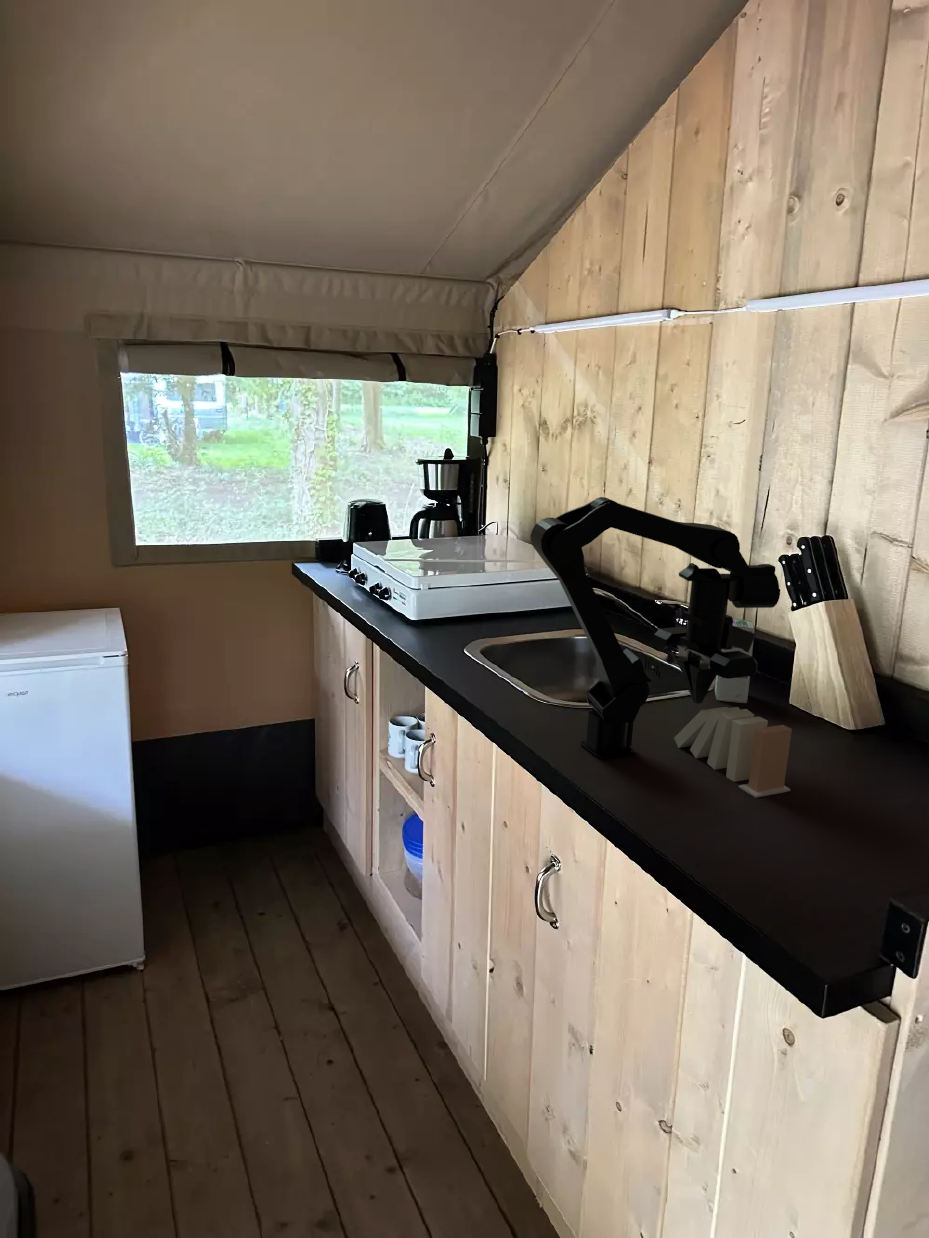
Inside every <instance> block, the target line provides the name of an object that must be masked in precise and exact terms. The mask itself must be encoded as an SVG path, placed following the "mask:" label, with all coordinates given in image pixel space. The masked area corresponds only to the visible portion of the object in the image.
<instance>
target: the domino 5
mask: <svg viewBox="0 0 929 1238" xmlns="http://www.w3.org/2000/svg"><path fill="white" fill-rule="evenodd" d="M792 731H793V729H792V728H791V727H788V726H786V725H784V724H779V725H772V726H771V725H770V726H767V727H764V728H757V729H755V737H754V745H753V753H752V761H751V769H750V777H749V779H748V784H749V785H748V787H750V788H751V789H753V790H754V791H756V792H759V791H764V790H770V789H776V788H781V787H784V786H785V783H786V775H787V774H786V773H787V768H788V767H787V766H788V760H789V752H790V746H791V737H792Z"/></svg>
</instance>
